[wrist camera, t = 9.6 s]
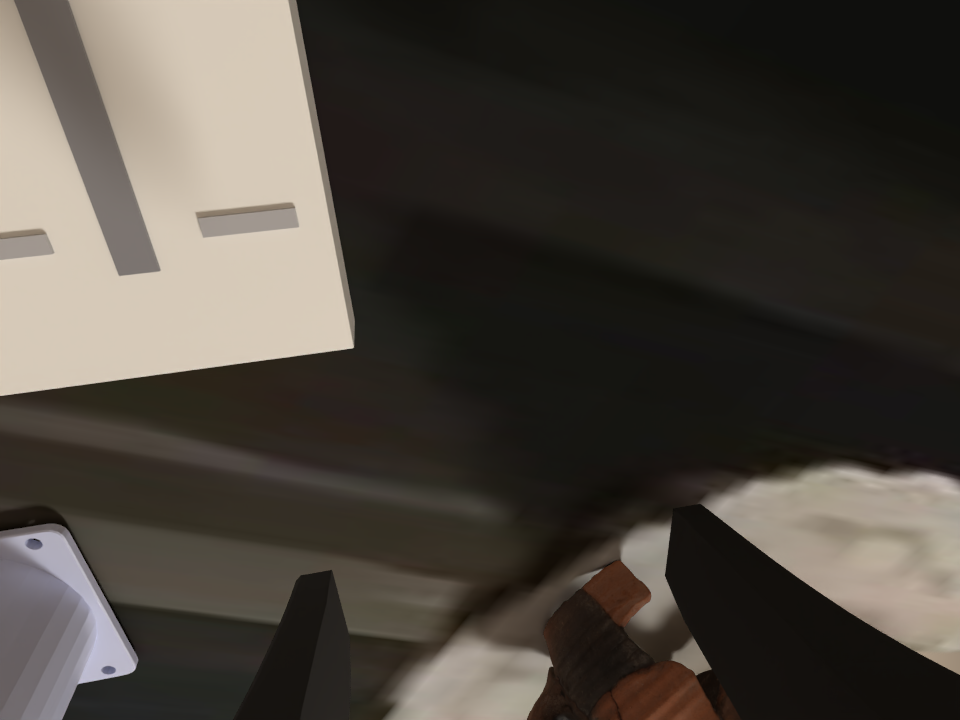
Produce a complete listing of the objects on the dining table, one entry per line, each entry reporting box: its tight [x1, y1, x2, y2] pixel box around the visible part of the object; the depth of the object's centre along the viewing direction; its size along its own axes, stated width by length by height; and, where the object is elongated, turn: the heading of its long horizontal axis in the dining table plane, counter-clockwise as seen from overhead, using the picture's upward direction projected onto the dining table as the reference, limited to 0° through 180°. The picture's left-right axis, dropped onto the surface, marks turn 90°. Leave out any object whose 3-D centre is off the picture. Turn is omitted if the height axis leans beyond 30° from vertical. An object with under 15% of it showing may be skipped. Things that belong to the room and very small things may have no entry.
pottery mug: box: [527, 560, 741, 720], centre depth 28 cm, size 12×10×8 cm
